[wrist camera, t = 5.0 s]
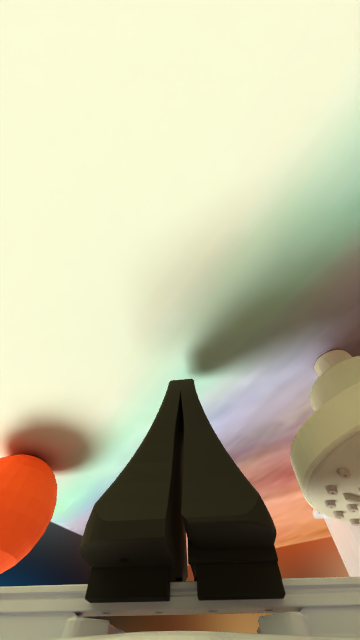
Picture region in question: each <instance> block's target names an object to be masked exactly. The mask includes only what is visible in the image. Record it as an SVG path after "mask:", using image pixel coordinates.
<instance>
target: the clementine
mask: <svg viewBox="0 0 360 640" xmlns="http://www.w3.org/2000/svg"><path fill="white" fill-rule="evenodd" d="M56 498H57V483H56V479H55V475H54V473H53V471H52V470H51V468H50V467H49V466H48V464H47V463H46V462H44V461H43V460H41V459H39V458H37V457H34V456H31V455H25V454H18V455H12V456H8V457H3V458H0V574H1V573H3V572H4V571H6V570H8V569H9V568H11V567H13V566H14V565H16V563H18V562H19V561H20V560H21V559H22V558H23V557H24V556H26V555H27V554H28V553H29V552H30V551H31V549H32V548H33V547H34V545H35V544H36V543H37V542H38V540H39V539H40V538H41V536H42V535H43V534H44V532H45V530H46V528H47V526H48V524H49V522H50V520H51V519H52V516H53V512H54V509H55V505H56Z"/></svg>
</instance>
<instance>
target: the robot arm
mask: <svg viewBox="0 0 360 640" xmlns="http://www.w3.org/2000/svg"><path fill="white" fill-rule="evenodd" d="M312 514H313V516H314V518H324V520H325V522H326V524H327V527H328V529H329V531H330V533H331V535H332V538H333V540H334V542H335V544H336V547H337V549H338V551H339V553H340V556H341V558H342V560H343V562H344V564H345V567H346V569H347V571H348V574H349V576H350V577H333V578H331V577H330V578H297V579H296V578H295V579H282V578H281V574H280V570H279V567H278V563H277V562H278V558H277V554H276V550H275V546H274V542H275V538H276V529H275V526H274V523H273V520H272V518H271V516H270V514H269V512H268V510H267V508H266V506H265V504H264V502H263V500H262V498H261V497H260V495H259V493H258V492H257V491H256V490H255V488H254V487H253V486H252V485H251V484H250V482H249V481H248V480H247V479H246V477H245V476H244V475H243V473H242V472H241V471H240V469H239V468H238V467H237V465H236V464H235V463H234V461H233V460H232V458H231V457H230V455H229V454H228V453H227V451H226V450H225V448H224V447H223V445H222V444H221V442H220V440H219V439H218V437H217V435H216V434H215V432H214V430H213V428H212V427H211V425H210V423H209V421H208V419H207V417H206V415H205V413H204V411H203V408H202V406H201V404H200V401H199V399H198V396H197V393H196V390H195V385H194V380H193V379H185V380H173V381H170V382H169V385H168V389H167V392H166V395H165V397H164V400H163V402H162V405H161V407H160V409H159V412H158V414H157V416H156V418H155V420H154V422H153V424H152V426H151V428H150V430H149V431H148V433H147V435H146V437H145V438H144V440H143V442H142V443H141V445H140V446H139V448H138V449H137V451H136V453H135V454H134V456H133V457H132V458H131V460H130V461H129V463H128V464H127V465H126V467H125V468H124V469H123V471H122V472H121V473H120V475H119V476H118V477H117V479H116V480H115V481H114V482H113V483H112V485H111V486H110V487H109V488H108V489H107V490H106V492H105V493H104V494H103V495H102V496H101V497H100V499H99V500H98V501H97V502H96V503H95V505H94V507H93V510H92V512H91V514H90V517H89V520H88V522H87V525H86V528H85V532H84V535H83V539H82V542H81V546H80V550H79V552H80V554H81V556H82V558H84V560H85V561H86V562H88V564H90V566H91V567H92V570H91V574H90V578H89V583H88V584H86V585H50V586H15V587H0V640H360V526H353V525H351V523H349V522H345V521H340V520H337V519H333V518H330V517H328V516H325V515H323V514H321V513H320V512H318V511H316V510H315V509H314V510H313V512H312ZM186 533H187V537H188V563H189V565H191V568H192V572H193V575H194V581H191V582H185V581H186V579H187V577H188V572H187V550H186ZM233 613H234V614H235V613H278V614H272V615H266V616H261V617H259V620H258V622H259V628H258V630H257V634H254V633H234V632H210V631H154V632H134V633H125V632H124V630H121V629H118V628H115V627H113V626H112V625H110V623H109V621H108V620H100V619H91V618H82V617H81V616H130V615H177V614H178V615H180V614H233Z"/></svg>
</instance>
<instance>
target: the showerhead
mask: <svg viewBox="0 0 360 640" xmlns="http://www.w3.org/2000/svg"><path fill="white" fill-rule="evenodd" d="M314 369H315V372H316V373H317V375H318V376H319V378H318V379H317V380H316V382H315V384H314V385H313V387H312V390H311V393H310V403H311V405H312V407H313V409H314V411H315V412H314V413H313V414H312V415H311V416H310V417H309V418H308V420H307V421H306V422H305V423H304V424H303V426H302V427H301V428H300V429H299V431H298V433H297V435H296V437H295V439H294V441H293V444H292V447H291V452H290V459H291V464H292V467H293V469H294V472H295V474H296V477H297V480H298V482H299V485H300V488H301V490H302V493H303V495H304V498H305V500H306V501H307V502H308V504H309V505H310V506H311V507H312V508H314V509H315V510H316V511H318V512H320V513H321V514H323V515H325V516H328V517H330V518H333V519H337V520H340V521H345V522H349V523H351V525H353V526H360V356H356V357H352V356H351V355H350V354H349V353H348V352H346V351H344V350H333V351H329V352H327V353H325V354H323V355H322V356H320V357H319V358H318V360H317V361H316V363H315V365H314Z"/></svg>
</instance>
